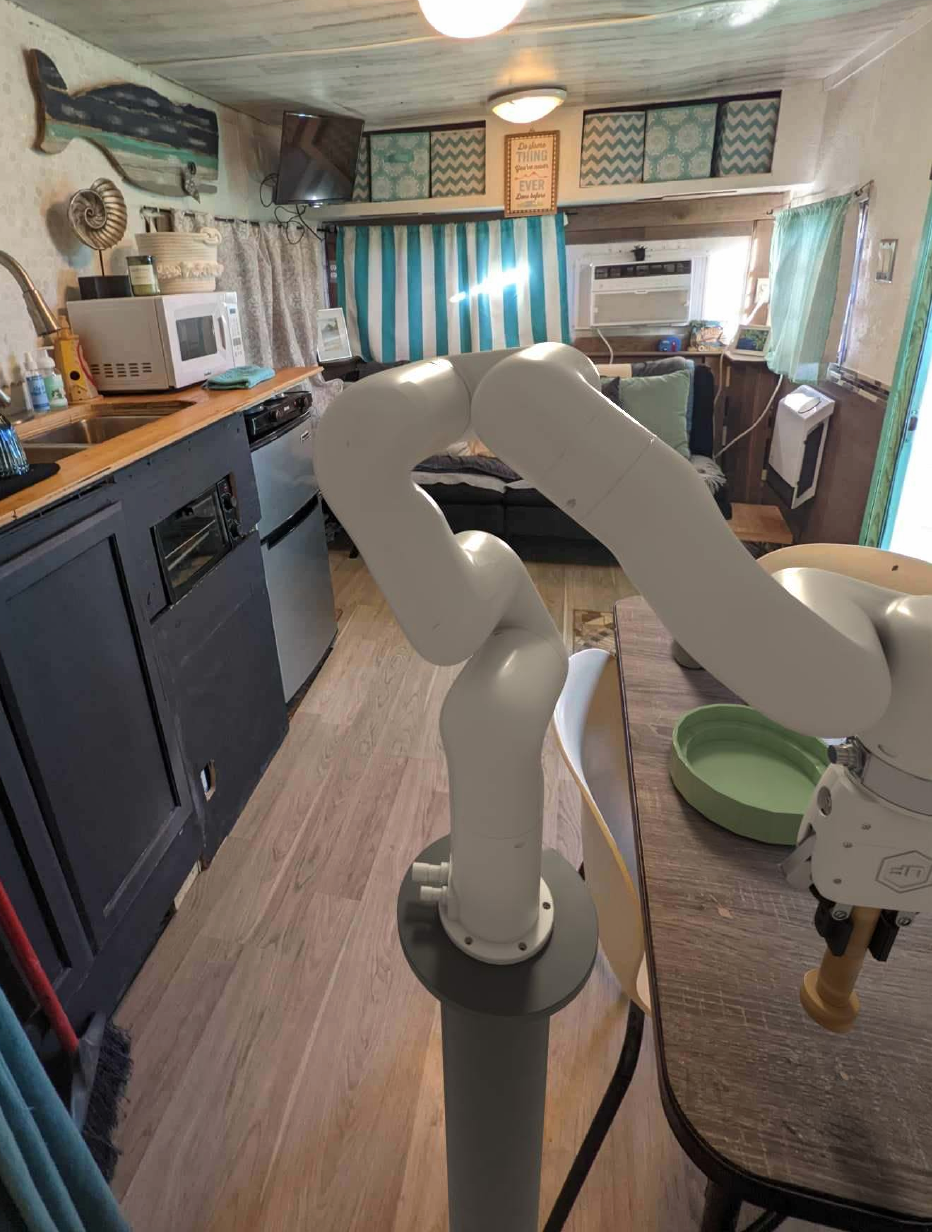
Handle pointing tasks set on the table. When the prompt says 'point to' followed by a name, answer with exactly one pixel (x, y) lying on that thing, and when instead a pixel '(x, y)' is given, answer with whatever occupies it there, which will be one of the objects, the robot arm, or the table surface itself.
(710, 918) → the table surface
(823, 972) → the wooden peg
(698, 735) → the bowl
